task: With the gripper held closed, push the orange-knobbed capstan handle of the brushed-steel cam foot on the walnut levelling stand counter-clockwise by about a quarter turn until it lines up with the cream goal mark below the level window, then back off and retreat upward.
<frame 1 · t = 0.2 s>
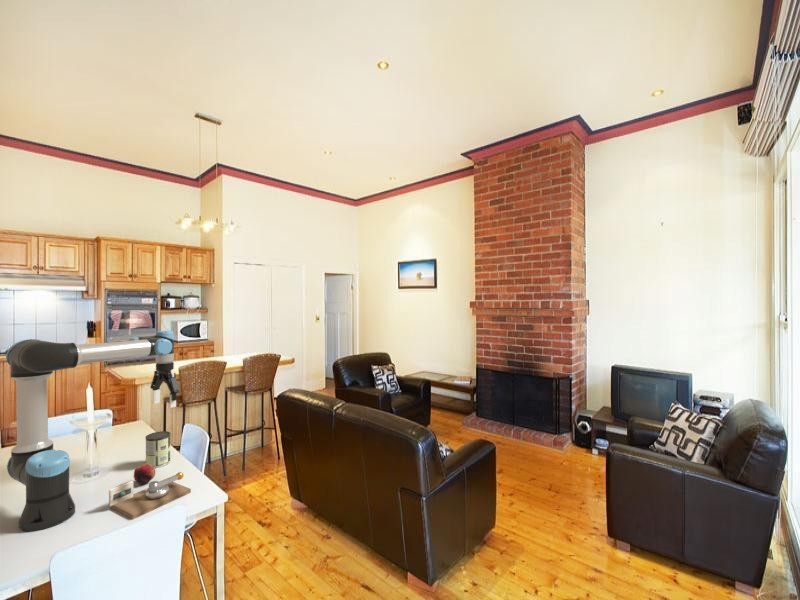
hand: (164, 405, 188), 28 cm above the table, fingers open, 13 cm apart
stand: (152, 499, 153), on the table
fruit: (144, 483, 167), on the table
coffee can: (158, 463, 186), on the table
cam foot: (165, 484, 157), point 4 cm above the table, hinge at 0.0°
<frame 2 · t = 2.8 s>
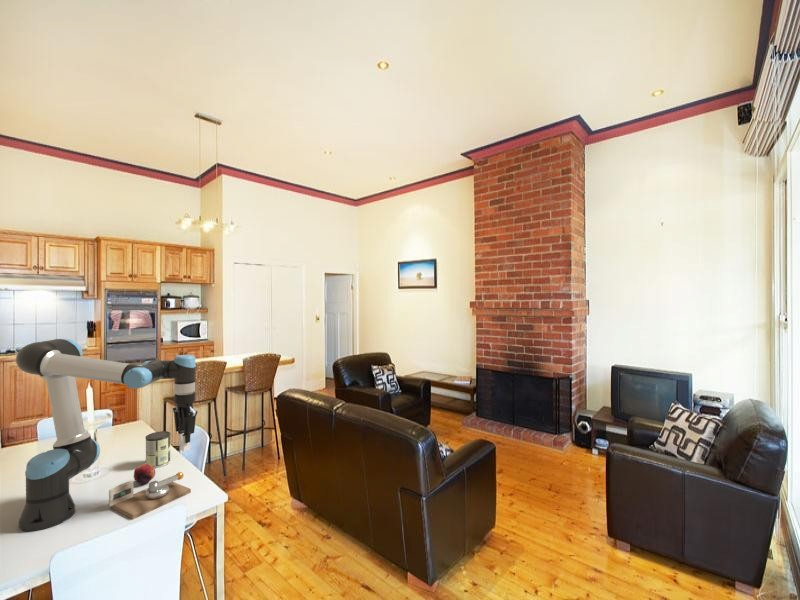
hand: (184, 449, 158), 18 cm above the table, fingers closed
nothing on the table moved.
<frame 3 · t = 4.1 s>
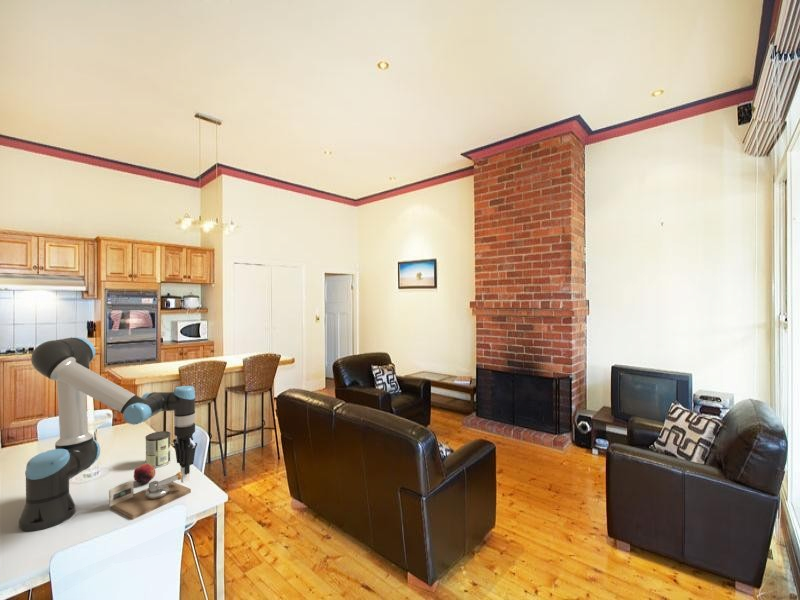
hand: (185, 481, 158), 5 cm above the table, fingers closed
nothing on the table moved.
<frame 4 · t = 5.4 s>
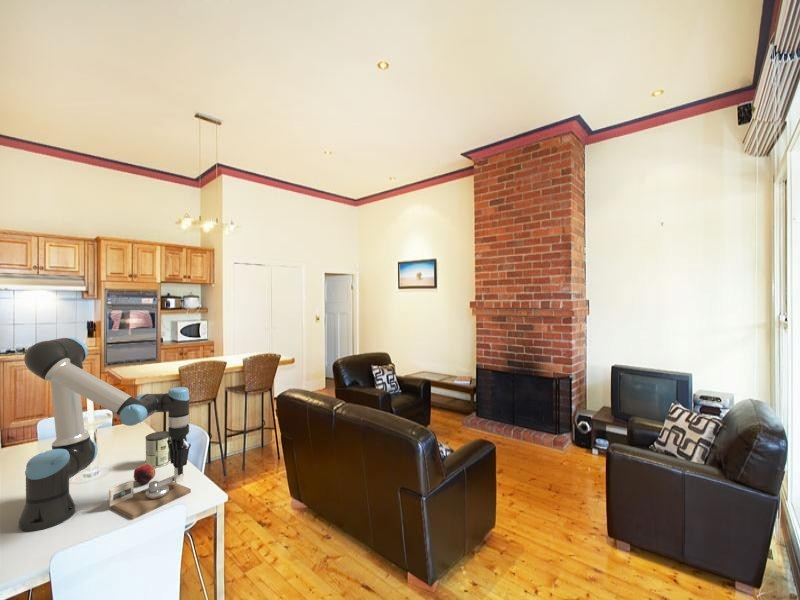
hand: (178, 481, 160), 4 cm above the table, fingers closed
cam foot: (165, 484, 157), point 4 cm above the table, hinge at 0.2°, touching gripper
everything else where it was.
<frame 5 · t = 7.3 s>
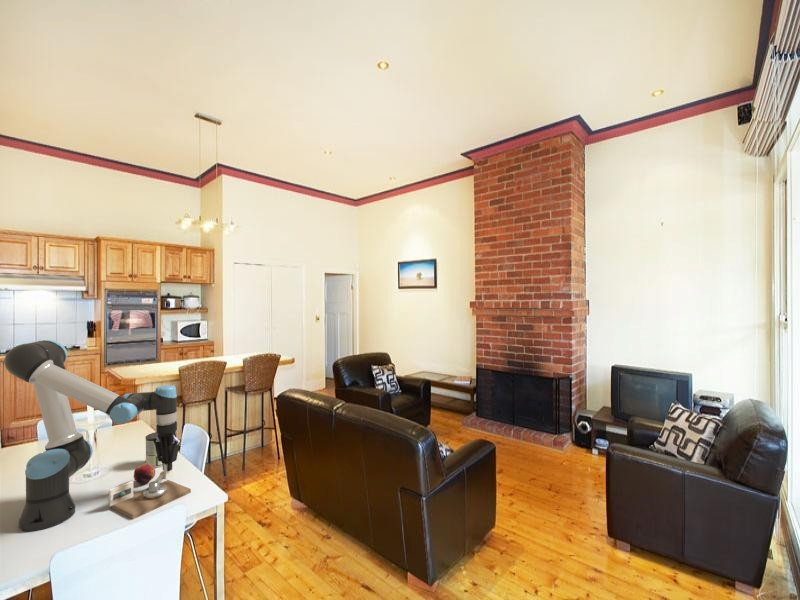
hand: (167, 477, 162), 5 cm above the table, fingers closed
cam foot: (158, 483, 157), point 4 cm above the table, hinge at 41.3°, touching gripper
everything else where it was.
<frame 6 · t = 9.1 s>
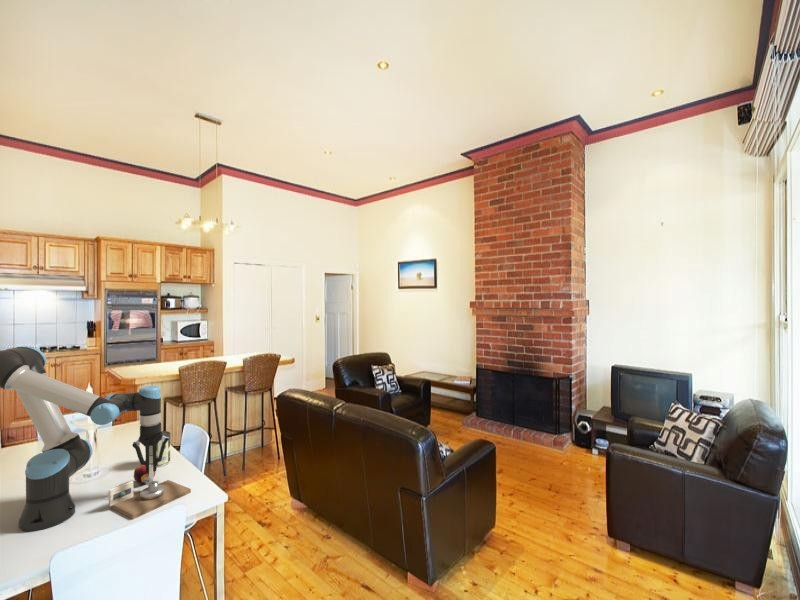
hand: (151, 479, 160), 5 cm above the table, fingers closed
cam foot: (149, 485, 156), point 4 cm above the table, hinge at 77.2°, touching gripper
everything else where it was.
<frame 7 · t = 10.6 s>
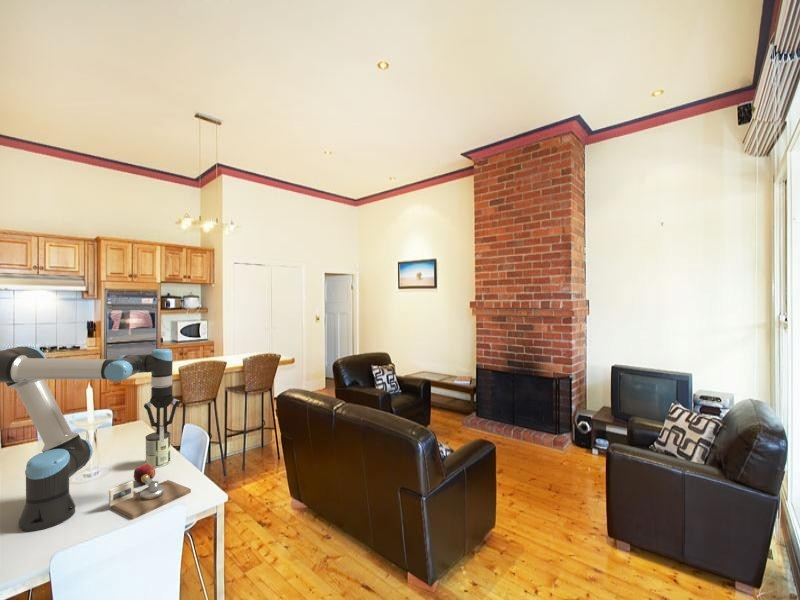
hand: (161, 441, 161), 20 cm above the table, fingers closed
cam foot: (149, 485, 156), point 4 cm above the table, hinge at 77.5°
everything else where it was.
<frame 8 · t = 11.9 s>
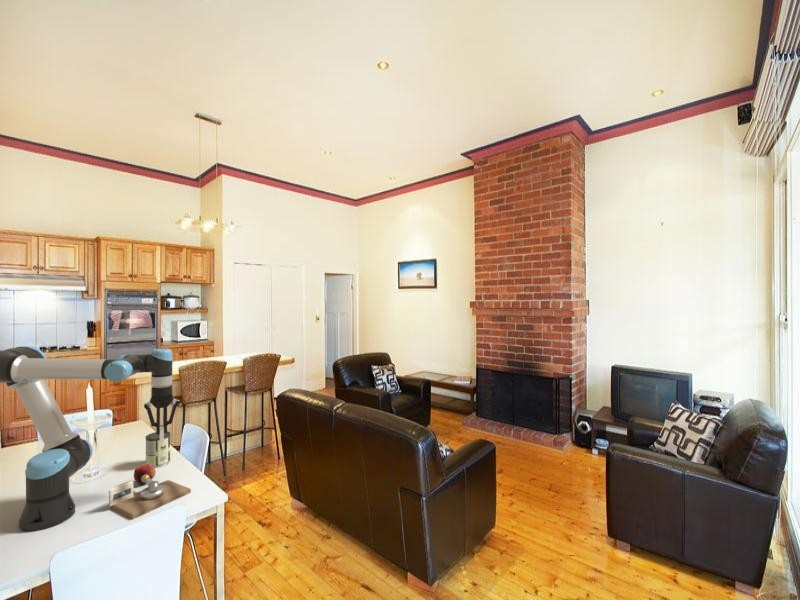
hand: (161, 441, 161), 20 cm above the table, fingers closed
nothing on the table moved.
at the end: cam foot at +78° (first picture: +0°); fruit moved 0.2 cm from its start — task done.
